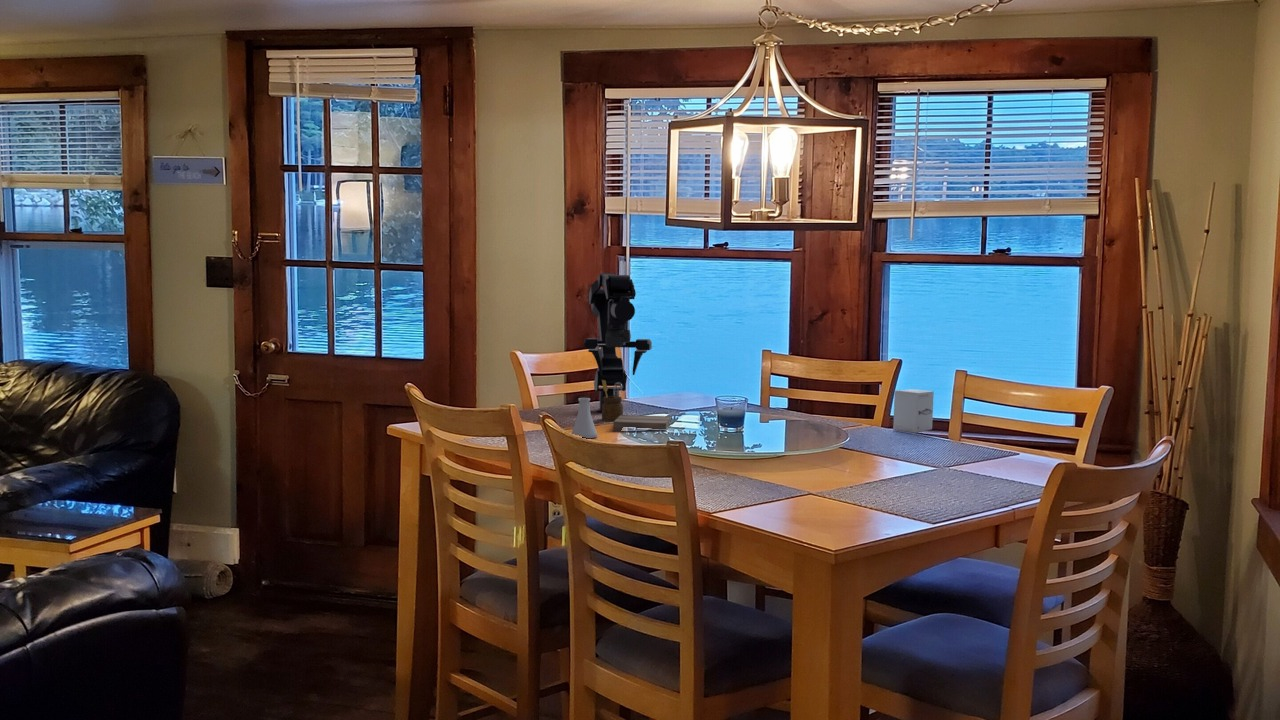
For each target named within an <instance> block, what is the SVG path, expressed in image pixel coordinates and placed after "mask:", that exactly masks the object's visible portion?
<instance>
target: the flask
mask: <svg viewBox="0 0 1280 720" xmlns="http://www.w3.org/2000/svg"><path fill="white" fill-rule="evenodd" d="M577 401H578V412H577V415H576V417H575V419H576V420H575V421H574V424H573V428H572V431H571V433H572V434H575V435H579V436H582V437H586V438H587V439H593V438H598V432H597V429H596V426H595V424H594V420H593V417H592V414H591V409H590V401H591V398H590V397H579V398H578V399H577ZM586 438H585V439H586Z"/></svg>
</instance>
